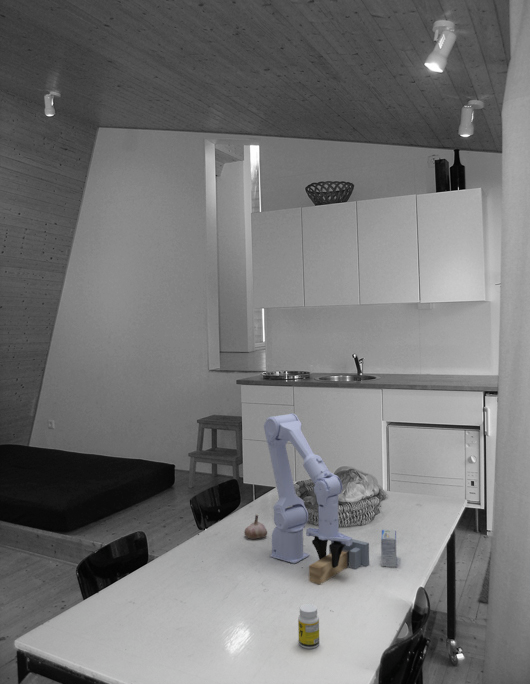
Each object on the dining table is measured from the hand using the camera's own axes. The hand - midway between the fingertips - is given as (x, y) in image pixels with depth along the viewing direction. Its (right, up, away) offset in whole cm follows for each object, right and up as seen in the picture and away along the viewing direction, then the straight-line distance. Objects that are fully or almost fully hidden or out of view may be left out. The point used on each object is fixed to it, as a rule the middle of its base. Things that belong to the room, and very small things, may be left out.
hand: (329, 564), depth 181 cm
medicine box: (+19, -2, +8) cm, 21 cm away
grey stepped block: (+7, -2, +9) cm, 11 cm away
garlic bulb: (-22, -2, +31) cm, 38 cm away
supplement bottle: (-9, -5, -38) cm, 39 cm away
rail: (0, -3, 0) cm, 3 cm away
